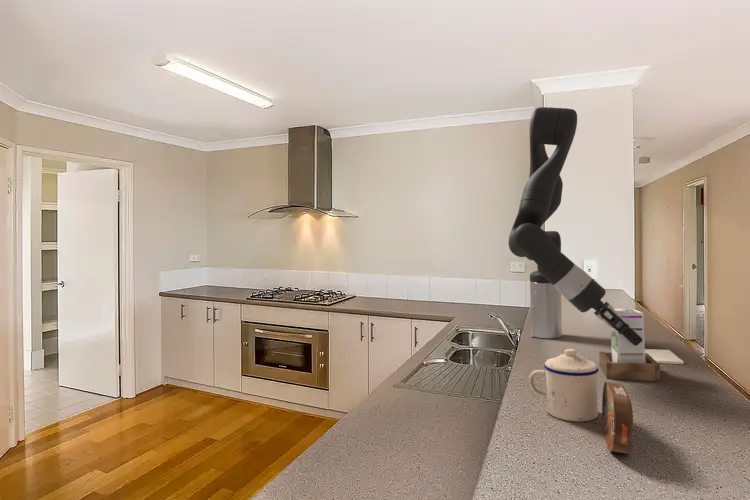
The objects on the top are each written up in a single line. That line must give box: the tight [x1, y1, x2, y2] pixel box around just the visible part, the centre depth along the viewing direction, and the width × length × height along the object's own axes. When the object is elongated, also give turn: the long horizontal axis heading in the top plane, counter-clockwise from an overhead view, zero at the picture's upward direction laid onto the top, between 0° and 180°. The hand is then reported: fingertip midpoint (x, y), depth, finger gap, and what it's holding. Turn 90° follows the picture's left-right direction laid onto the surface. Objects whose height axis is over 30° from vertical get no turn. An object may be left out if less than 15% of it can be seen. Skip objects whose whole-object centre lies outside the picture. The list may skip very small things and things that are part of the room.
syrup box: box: [610, 308, 646, 363], centre depth 108 cm, size 6×6×14 cm
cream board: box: [645, 348, 685, 365], centre depth 121 cm, size 12×12×1 cm
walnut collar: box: [598, 350, 661, 382], centre depth 108 cm, size 10×10×4 cm
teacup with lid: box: [528, 348, 599, 423], centre depth 86 cm, size 12×9×12 cm
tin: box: [601, 380, 634, 455], centre depth 74 cm, size 15×3×8 cm, turn 159°
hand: (635, 339), depth 107 cm, fingers closed on syrup box, 6 cm apart
